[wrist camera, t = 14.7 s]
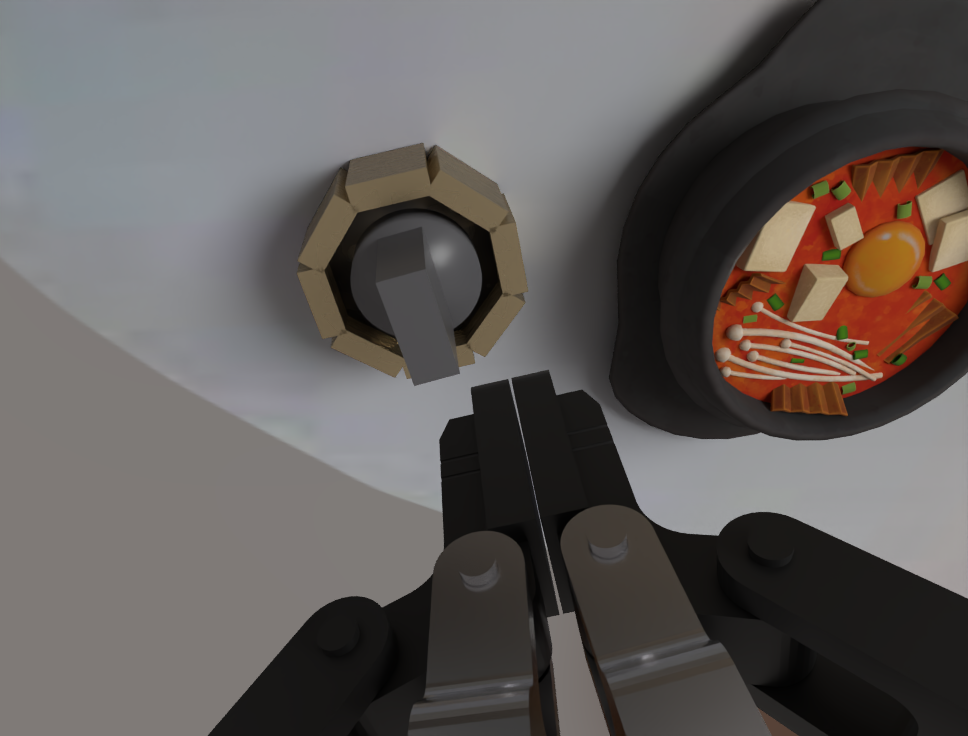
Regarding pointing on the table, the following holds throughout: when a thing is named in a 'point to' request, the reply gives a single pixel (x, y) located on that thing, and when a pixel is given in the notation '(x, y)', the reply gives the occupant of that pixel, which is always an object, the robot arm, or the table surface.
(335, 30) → the table surface
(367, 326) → the octagonal wooden ring
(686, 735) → the robot arm
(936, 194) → the casserole
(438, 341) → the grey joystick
